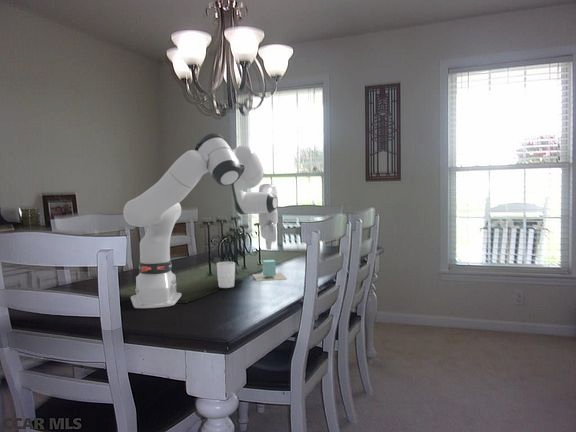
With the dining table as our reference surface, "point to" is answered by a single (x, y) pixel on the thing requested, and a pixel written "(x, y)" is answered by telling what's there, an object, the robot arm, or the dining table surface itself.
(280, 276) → the post
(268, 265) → the teal upright block
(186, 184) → the robot arm
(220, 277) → the white cup
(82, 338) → the dining table surface
